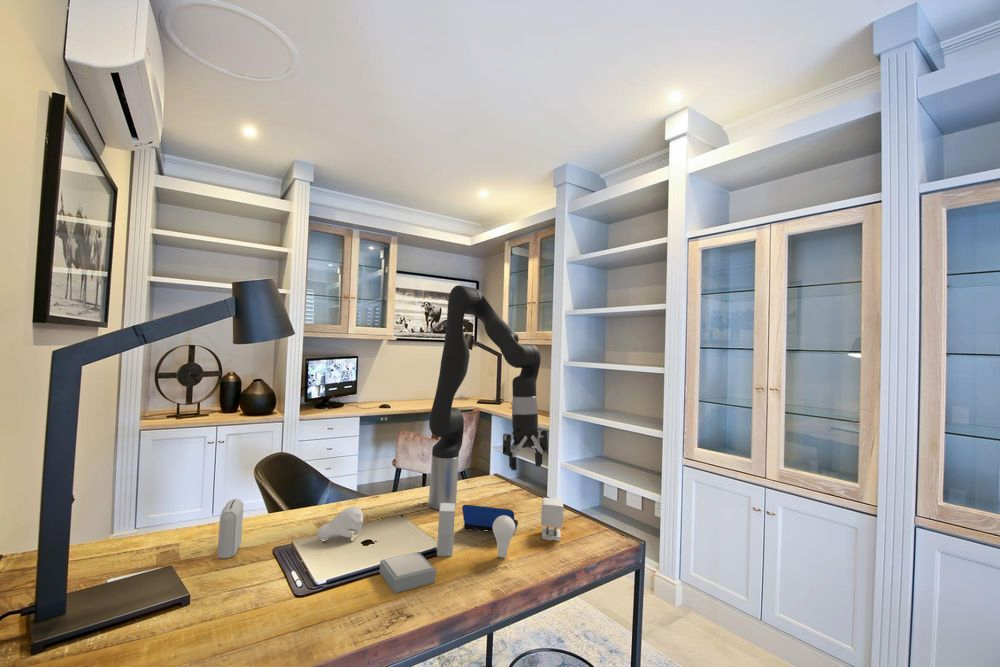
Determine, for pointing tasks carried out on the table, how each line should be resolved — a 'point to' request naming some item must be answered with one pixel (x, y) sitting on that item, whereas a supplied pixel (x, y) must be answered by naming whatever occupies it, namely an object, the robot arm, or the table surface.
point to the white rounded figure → (343, 524)
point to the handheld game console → (484, 517)
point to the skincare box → (446, 529)
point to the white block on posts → (552, 518)
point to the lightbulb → (503, 533)
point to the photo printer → (230, 528)
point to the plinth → (407, 572)
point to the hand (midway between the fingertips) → (526, 468)
